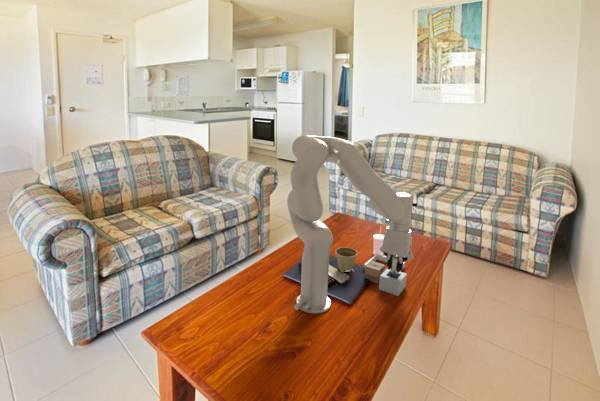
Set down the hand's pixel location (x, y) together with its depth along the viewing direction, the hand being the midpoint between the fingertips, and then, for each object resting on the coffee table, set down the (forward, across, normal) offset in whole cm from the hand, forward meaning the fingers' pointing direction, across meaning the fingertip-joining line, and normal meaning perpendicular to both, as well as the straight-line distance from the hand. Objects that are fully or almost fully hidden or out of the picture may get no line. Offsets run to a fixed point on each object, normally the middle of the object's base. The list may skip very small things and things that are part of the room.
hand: (394, 269), depth 142 cm
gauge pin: (+4, 0, 0) cm, 4 cm away
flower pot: (+8, -22, +2) cm, 24 cm away
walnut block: (+8, -9, +3) cm, 13 cm away
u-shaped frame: (+8, -9, +14) cm, 19 cm away
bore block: (+8, 0, 0) cm, 8 cm away
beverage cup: (+9, -17, +26) cm, 32 cm away
